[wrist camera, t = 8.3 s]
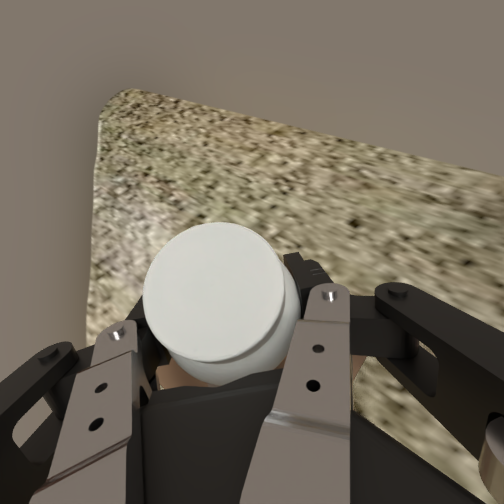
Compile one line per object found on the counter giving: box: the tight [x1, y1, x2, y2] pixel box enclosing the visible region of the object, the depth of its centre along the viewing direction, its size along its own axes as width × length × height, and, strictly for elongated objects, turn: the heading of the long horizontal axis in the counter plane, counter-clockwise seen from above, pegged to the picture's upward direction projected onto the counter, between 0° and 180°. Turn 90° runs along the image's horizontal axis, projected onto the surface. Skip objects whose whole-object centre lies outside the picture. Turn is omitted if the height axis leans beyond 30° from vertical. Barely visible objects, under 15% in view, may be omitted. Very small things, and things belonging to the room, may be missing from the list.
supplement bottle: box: [143, 222, 301, 386], centre depth 11 cm, size 5×5×10 cm
